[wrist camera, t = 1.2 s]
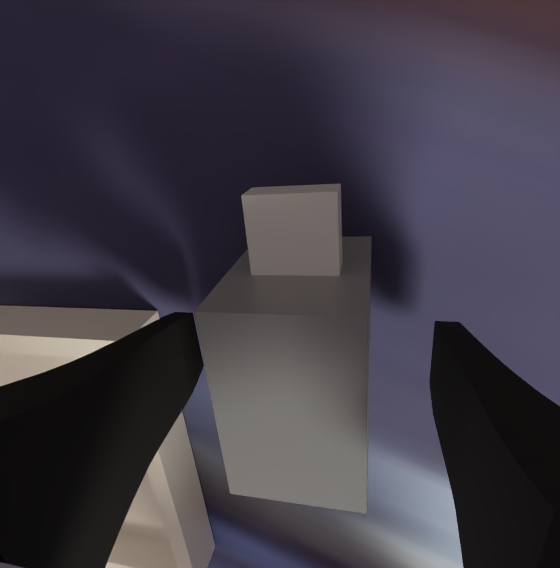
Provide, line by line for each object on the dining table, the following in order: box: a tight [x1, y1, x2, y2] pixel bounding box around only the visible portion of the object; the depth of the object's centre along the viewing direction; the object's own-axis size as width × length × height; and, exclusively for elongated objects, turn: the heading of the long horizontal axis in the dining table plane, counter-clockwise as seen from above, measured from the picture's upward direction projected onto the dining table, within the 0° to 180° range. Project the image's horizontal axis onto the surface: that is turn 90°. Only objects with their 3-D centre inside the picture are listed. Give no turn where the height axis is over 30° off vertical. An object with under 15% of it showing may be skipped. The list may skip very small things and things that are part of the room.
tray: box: [0, 305, 215, 568], centre depth 18 cm, size 14×14×2 cm
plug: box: [194, 183, 371, 514], centre depth 11 cm, size 10×4×5 cm, turn 5°
